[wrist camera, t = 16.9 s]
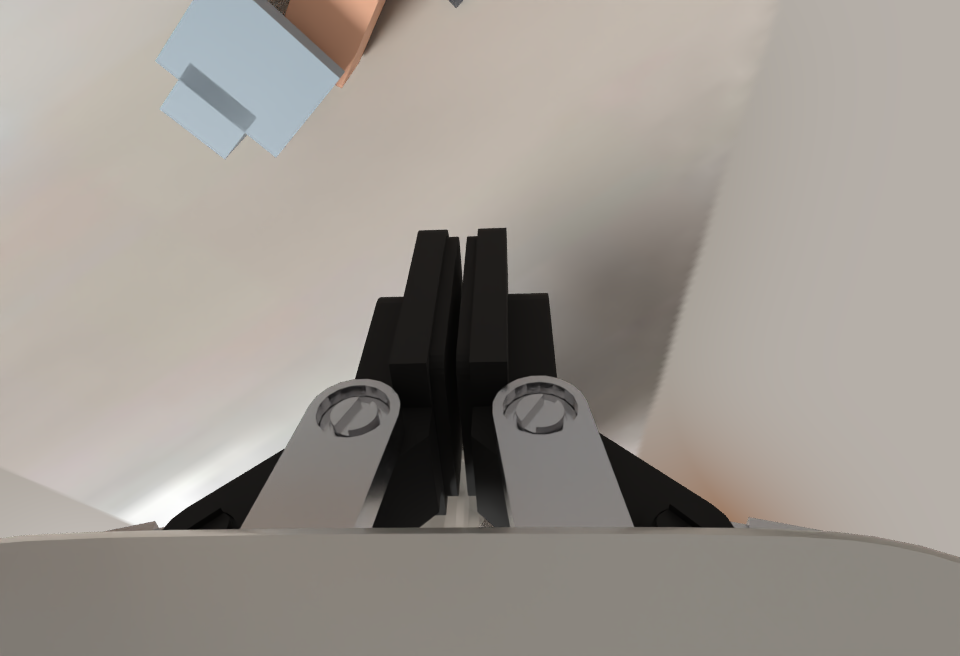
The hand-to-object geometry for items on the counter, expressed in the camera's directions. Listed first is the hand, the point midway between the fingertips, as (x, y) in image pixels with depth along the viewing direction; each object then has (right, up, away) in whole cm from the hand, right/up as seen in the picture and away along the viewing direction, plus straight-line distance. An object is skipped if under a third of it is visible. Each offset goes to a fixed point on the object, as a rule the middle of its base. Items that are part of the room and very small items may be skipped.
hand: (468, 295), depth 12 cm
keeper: (-9, +13, +17) cm, 23 cm away
